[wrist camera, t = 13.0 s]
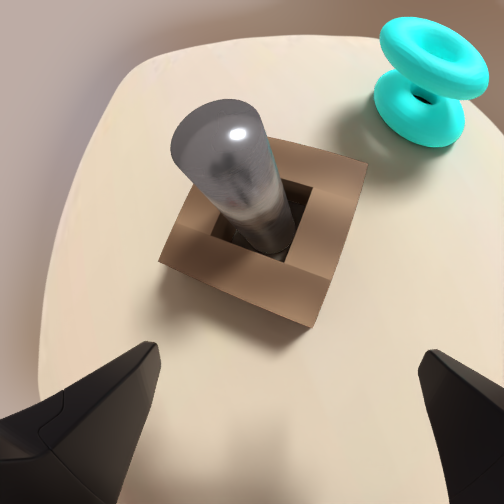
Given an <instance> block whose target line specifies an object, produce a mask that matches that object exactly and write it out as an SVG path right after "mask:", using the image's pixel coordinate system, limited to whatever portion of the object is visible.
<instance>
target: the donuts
mask: <svg viewBox="0 0 504 504" xmlns="http://www.w3.org/2000/svg"><path fill="white" fill-rule="evenodd" d="M380 45H381V48H382V51H383V53H384V55H385V57H386V58H387V59H388V61H389V62H390V63H391V65H392V66H393V67H394V68H395V69H394V70H391V71H389V72H387V73H385V74H383V75H382V76H381V77H380V78H379V80H378V81H377V83H376V85H375V88H374V101H375V105H376V108H377V110H378V112H379V114H380V115H381V117H382V118H383V120H384V121H385V122H386V124H387V125H388V126H389V127H390V128H391V129H393V130H394V131H395V132H396V133H398V134H399V135H401V136H402V137H404V138H405V139H407V140H409V141H411V142H414V143H416V144H419V145H422V146H427V147H444V146H448V145H450V144H452V143H454V142H455V141H456V140H457V139H458V138H459V137H460V136H461V134H462V132H463V129H464V125H465V117H464V111H463V108H462V106H461V103H460V101H459V100H470V99H474V98H476V97H479V96H480V95H482V94H483V93H484V92H485V90H486V89H487V86H488V83H489V73H488V69H487V66H486V64H485V61H484V60H483V58H482V56H481V55H480V54H479V52H478V51H477V50H476V49H475V48H474V47H473V46H472V45H471V44H470V43H469V42H468V41H467V40H466V39H464V38H463V37H462V36H460V35H459V34H457V33H456V32H454V31H452V30H451V29H449V28H447V27H445V26H443V25H440V24H438V23H436V22H433V21H429V20H426V19H421V18H415V17H400V18H396V19H393V20H391V21H389V22H388V23H387V24H385V25H384V27H383V28H382V30H381V32H380ZM413 95H416V96H419V97H421V98H424V99H425V100H427V101H428V102H430V103H431V104H432V105H430V104H426V103H423V102H421V101H419V100H418V99H416V98H415V97H414V96H413Z"/></svg>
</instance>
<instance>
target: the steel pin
mask: <svg viewBox="0 0 504 504" xmlns="http://www.w3.org/2000/svg"><path fill="white" fill-rule="evenodd" d="M171 156H172V159H173V161H174V163H175V164H176V165H177V166H178V167H179V169H180V170H181V171H182V172H183V173H184V174H185V175H186V176H187V177H188V178H189V179H190V180H191V181H192V182H193V183H194V184H195V185H196V187H197V188H198V189H199V190H200V191H201V192H202V193H203V194H204V195H205V196H206V197H207V198H208V199H209V200H210V201H211V202H212V204H213V205H214V206H215V207H216V208H217V209H218V210H219V211H220V212H221V213H222V214H223V215H224V216H225V217H226V218H227V219H228V221H229V222H230V223H231V224H232V225H233V226H234V227H235V228H236V229H237V230H238V231H239V232H240V233H241V234H242V235H243V237H244V238H245V239H246V240H247V241H248V242H249V243H250V244H251V245H252V246H253V247H254V248H255V249H256V250H258V251H260V252H263V253H268V254H272V253H277V252H280V251H282V250H284V249H285V248H286V247H287V246H288V245H289V244H290V243H291V242H292V240H293V238H294V234H295V224H294V220H293V217H292V214H291V210H290V207H289V204H288V200H287V197H286V194H285V190H284V187H283V184H282V181H281V178H280V175H279V171H278V168H277V165H276V162H275V159H274V156H273V153H272V150H271V147H270V144H269V141H268V138H267V135H266V132H265V129H264V126H263V123H262V121H261V118H260V116H259V113H258V112H257V111H256V109H255V108H254V107H252V106H251V105H250V104H248V103H246V102H243V101H240V100H235V99H222V100H217V101H213V102H210V103H207V104H205V105H202V106H200V107H199V108H197V109H195V110H194V111H192V112H191V113H190V114H189V115H188V116H186V117H185V118H184V119H183V121H182V122H181V123H180V124H179V126H178V127H177V129H176V130H175V132H174V135H173V137H172V140H171Z"/></svg>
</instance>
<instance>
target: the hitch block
mask: <svg viewBox="0 0 504 504" xmlns="http://www.w3.org/2000/svg"><path fill="white" fill-rule="evenodd" d="M267 138H268V141H269V144H270V147H271V150H272V153H273V156H274V159H275V162H276V165H277V168H278V171H279V175H280V178H281V181H282V184H283V187H284V190H285V194H286V197H287V200H289V201H292V202H295V203H298V204H302V205H305V206H306V208H305V211H304V213H303V216H302V219H301V221H300V224H299V227H298V229H297V232H296V234H295V237H294V239H293V242H292V245H291V247H290V250H289V252H288V255H287V257H286V260H285V262H284V263H283V262H280V261H278V260H275V259H272V258H270V257H267V256H264V255H262V254H259V253H256V252H254V251H251V250H248V249H245V248H243V247H240V246H237V245H235V244H232V243H231V241H232V238H233V236H234V234H235V231H236V228H235V227H234V226H233V225H232V224H231V223H230V222H229V221H228V219H227V218H226V217H225V216H224V215H223V214H222V213H221V212H220V211H219V210H218V209H217V208H216V207H215V206H214V205H213V204H212V202H211V201H210V200H209V199H208V198H207V197H206V196H205V195H204V194H203V193H202V192H201V191H200V190H199V189H198V188H197V187H196V185H195V184H193V186H192V188H191V190H190V192H189V194H188V196H187V198H186V200H185V202H184V204H183V206H182V209H181V211H180V213H179V215H178V217H177V219H176V221H175V224H174V226H173V228H172V230H171V232H170V235H169V237H168V239H167V241H166V244H165V246H164V248H163V251H162V253H161V255H160V258H159V260H158V262H160V263H163V264H165V265H167V266H169V267H171V268H173V269H175V270H177V271H180V272H182V273H184V274H186V275H188V276H190V277H192V278H195V279H197V280H199V281H201V282H203V283H206V284H208V285H210V286H212V287H215V288H217V289H219V290H221V291H224V292H226V293H228V294H230V295H233V296H235V297H237V298H240V299H242V300H244V301H247V302H249V303H251V304H254V305H256V306H258V307H261V308H263V309H265V310H268V311H270V312H273V313H275V314H278V315H280V316H282V317H285V318H287V319H290V320H292V321H295V322H297V323H300V324H302V325H305V326H307V327H310V328H313V326H314V323H315V321H316V319H317V316H318V314H319V311H320V309H321V306H322V304H323V301H324V299H325V296H326V293H327V291H328V288H329V286H330V283H331V280H332V278H333V275H334V272H335V269H336V267H337V264H338V261H339V258H340V255H341V252H342V250H343V247H344V244H345V241H346V238H347V235H348V232H349V229H350V226H351V222H352V219H353V216H354V213H355V210H356V206H357V203H358V200H359V196H360V193H361V189H362V186H363V182H364V178H365V174H366V170H367V166H368V164H367V163H364V162H361V161H358V160H355V159H352V158H348V157H345V156H342V155H338V154H335V153H331V152H328V151H324V150H321V149H317V148H313V147H309V146H305V145H301V144H297V143H293V142H289V141H285V140H280V139H276V138H271V137H267Z"/></svg>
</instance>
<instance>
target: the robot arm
mask: <svg viewBox="0 0 504 504" xmlns="http://www.w3.org/2000/svg"><path fill="white" fill-rule="evenodd" d="M160 369H161V360H160V354H159V349H158V345H157V344H156V343H155V342H149V341H144V342H142V343H140V344H139V345H137V346H135V347H134V348H132V349H131V350H129V351H127V352H126V353H124V354H122V355H121V356H119V357H117V358H116V359H114V360H112V361H111V362H109V363H107V364H106V365H104V366H102V367H101V368H99V369H97V370H96V371H94V372H92V373H91V374H89V375H87V376H85V377H84V378H82V379H80V380H79V381H77V382H75V383H74V384H72V385H70V386H68V387H67V388H65V389H64V390H61V391H60V392H58V393H56V394H55V395H53V396H51V397H49V398H47V399H45V400H43V401H42V402H39V403H38V404H35V405H33V406H31V407H29V408H26V409H24V410H22V411H20V412H17V413H15V414H12V415H10V416H8V417H5V418H3V419H0V504H116V503H117V500H118V497H119V494H120V491H121V488H122V485H123V482H124V479H125V476H126V474H127V471H128V468H129V465H130V462H131V459H132V457H133V454H134V451H135V448H136V446H137V443H138V440H139V437H140V435H141V432H142V429H143V427H144V424H145V421H146V419H147V416H148V414H149V411H150V408H151V404H152V401H153V397H154V393H155V389H156V385H157V381H158V377H159V373H160ZM418 376H419V380H420V384H421V388H422V393H423V397H424V402H425V406H426V410H427V413H428V417H429V420H430V423H431V426H432V430H433V433H434V437H435V440H436V444H437V448H438V451H439V455H440V459H441V463H442V468H443V472H444V477H445V481H446V486H447V491H448V497H449V503H450V504H504V388H503V387H501V386H499V385H498V384H496V383H494V382H493V381H491V380H489V379H487V378H486V377H484V376H482V375H481V374H479V373H477V372H476V371H474V370H472V369H470V368H469V367H467V366H465V365H464V364H462V363H460V362H458V361H457V360H455V359H453V358H452V357H450V356H448V355H446V354H445V353H443V352H441V351H440V350H438V349H432V350H428V351H427V352H426V353H425V355H424V357H423V359H422V361H421V363H420V365H419V368H418Z"/></svg>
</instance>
